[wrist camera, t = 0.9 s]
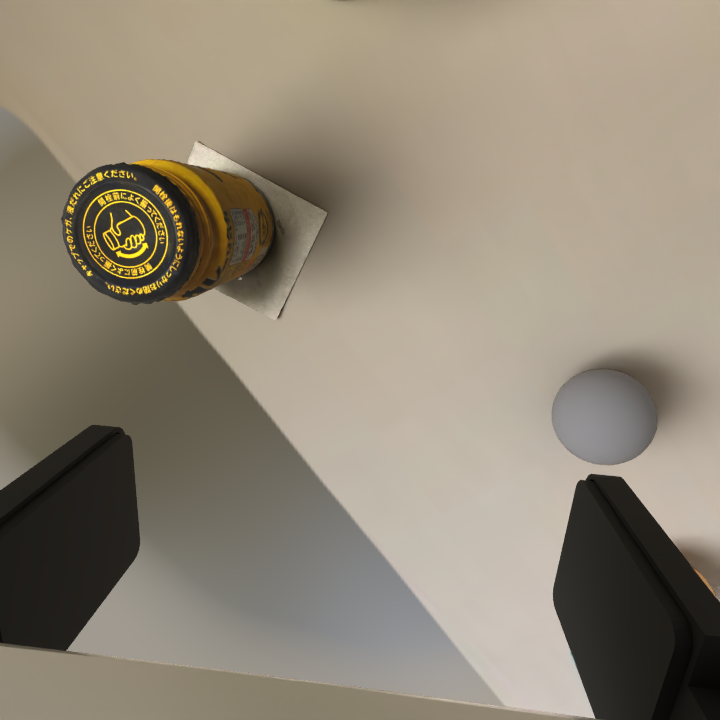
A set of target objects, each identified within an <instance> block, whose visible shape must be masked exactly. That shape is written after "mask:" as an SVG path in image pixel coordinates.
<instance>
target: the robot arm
mask: <svg viewBox="0 0 720 720" xmlns="http://www.w3.org/2000/svg"><path fill="white" fill-rule="evenodd" d="M139 546H140V535H139V522H138V510H137V497H136V485H135V473H134V460H133V448H132V440H131V438H130V436H129V435H125V433H124V431H123V429H121V428H120V427H110V426H100V425H92V426H90V427H88V428H87V429H85V430H84V431H82V432H81V433H80V434H78V435H77V436H75V437H74V438H73V439H71V440H70V441H68V442H67V443H66V444H65V445H63V446H62V447H60V448H59V449H57V450H56V451H55V452H53V453H52V454H50V455H49V456H48V457H46V458H45V459H43V460H42V461H41V462H39V463H38V464H37V465H35V466H34V467H33V468H31V469H29V470H28V471H27V472H25V473H24V474H23V475H21V476H20V477H18V478H17V479H16V480H14V481H13V482H11V483H10V484H9V485H7V486H6V487H5V488H3V489H2V490H0V720H720V602H719V601H718V599H717V598H716V597H715V596H714V594H713V593H712V592H711V591H710V589H709V588H708V587H707V585H706V584H705V583H704V582H703V580H702V579H701V578H700V576H699V575H698V574H697V573H696V571H695V570H694V569H693V568H692V566H691V565H690V564H689V562H688V561H687V560H686V559H685V557H684V556H683V555H682V553H681V552H680V551H679V550H678V548H677V547H676V546H675V545H674V543H673V542H672V541H671V539H670V538H669V537H668V536H667V534H666V533H665V532H664V530H663V529H662V528H661V527H660V525H659V524H658V523H657V521H656V520H655V519H654V518H653V516H652V515H651V514H650V513H649V511H648V510H647V509H646V507H645V506H644V505H643V504H642V502H641V501H640V500H639V498H638V497H637V496H636V495H635V493H634V492H633V491H632V490H631V488H630V487H629V486H628V484H627V483H626V482H625V481H624V479H622V478H621V477H617V476H607V475H597V474H590V475H588V477H587V479H586V481H585V480H580V481H579V482H578V483H577V486H576V489H575V494H574V498H573V503H572V507H571V512H570V516H569V521H568V525H567V530H566V534H565V538H564V543H563V547H562V552H561V556H560V561H559V565H558V570H557V574H556V579H555V583H554V588H553V601H554V606H555V610H556V612H557V615H558V618H559V620H560V623H561V626H562V629H563V631H564V634H565V637H566V639H567V642H568V645H569V648H570V650H571V653H572V656H573V658H574V661H575V664H576V667H577V669H578V672H579V675H580V678H581V680H582V683H583V686H584V688H585V691H586V694H587V697H588V699H589V702H590V705H591V707H592V710H593V713H594V716H595V718H596V719H593V718H585V717H578V716H570V715H563V714H556V713H548V712H541V711H533V710H526V709H518V708H511V707H503V706H496V705H488V704H481V703H473V702H466V701H458V700H451V699H443V698H435V697H428V696H421V695H413V694H406V693H398V692H390V691H383V690H375V689H368V688H360V687H352V686H344V685H336V684H328V683H321V682H313V681H305V680H298V679H290V678H282V677H274V676H266V675H258V674H250V673H242V672H234V671H226V670H218V669H210V668H201V667H194V666H187V665H178V664H170V663H161V662H153V661H145V660H137V659H128V658H120V657H112V656H103V655H95V654H87V653H79V652H70V651H66V650H67V649H68V647H69V646H70V645H71V644H72V642H73V641H74V639H75V638H76V637H77V636H78V634H79V633H80V632H81V630H82V629H83V628H84V626H85V625H86V624H87V622H88V620H90V618H91V617H92V616H93V614H94V613H95V612H96V610H97V609H98V608H99V606H100V605H101V604H102V602H103V601H104V600H105V598H106V597H107V596H108V594H109V593H110V592H111V590H112V589H113V588H114V586H115V585H116V583H117V582H118V581H119V580H120V578H121V577H122V576H123V574H124V573H125V572H126V570H127V569H128V568H129V566H130V565H131V564H132V562H133V561H134V560H135V558H136V556H137V554H138V551H139Z"/></svg>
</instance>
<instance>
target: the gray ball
mask: <svg viewBox="0 0 720 720" xmlns="http://www.w3.org/2000/svg"><path fill="white" fill-rule="evenodd" d="M657 421H658V417H657V410H656V406H655V403H654V401H653V399H652V397H651V395H650V394H649V392H648V391H647V390H646V388H645V387H644V386H643V385H642V384H641V383H639V382H638V381H637V380H636V379H634V378H632V377H631V376H629V375H627V374H625V373H622V372H619V371H615V370H609V369H595V370H589V371H586V372H583V373H580V374H578V375H576V376H574V377H573V378H571V379H570V380H569V381H567V382H566V383H565V384H564V385H563V386H562V388H561V389H560V390H559V392H558V393H557V395H556V397H555V399H554V403H553V407H552V423H553V427H554V430H555V433H556V435H557V437H558V439H559V440H560V442H561V443H562V444H563V445H564V446H565V448H566V449H567V450H568V451H570V452H571V453H572V454H574V455H575V456H577V457H578V458H580V459H582V460H584V461H587V462H590V463H593V464H599V465H615V464H620V463H624V462H627V461H629V460H632V459H634V458H635V457H637V456H638V455H640V454H641V453H642V452H643V451H644V450H645V449H646V448H647V447H648V446H649V444H650V443H651V441H652V440H653V438H654V435H655V433H656V429H657Z"/></svg>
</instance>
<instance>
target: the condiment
mask: <svg viewBox="0 0 720 720" xmlns="http://www.w3.org/2000/svg"><path fill="white" fill-rule="evenodd" d="M326 215H327V212H326V211H324V210H322V209H320V208H318V207H316V206H314V205H313V204H311V203H309V202H307V201H305V200H303V199H302V198H300V197H298V196H296V195H294V194H292V193H290V192H288V191H287V190H285V189H283V188H281V187H279V186H278V185H276V184H274V183H272V182H270V181H269V180H267V179H265V178H263V177H261V176H259V175H258V174H256V173H254V172H252V171H250V170H248V169H247V168H245V167H243V166H241V165H239V164H237V163H235V162H234V161H232V160H230V159H228V158H226V157H224V156H223V155H221V154H219V153H217V152H215V151H213V150H212V149H210V148H208V147H206V146H204V145H202V144H200V143H198V142H195V145H194V147H193V150H192V153H191V155H190V158H189V160H188V164H183V163H180V162H175V161H172V160H164V159H163V160H160V159H157V160H155V159H146V160H141V161H138V162H135V163H131V164H126V163H124V162H122V163H118V164H115V165H112V164H110V165H105V166H101V167H98V168H96V169H94V170H92V171H91V172H89V173H88V174H87V175H85V176H84V177H83V178H82V179H81V180H79V181H78V182H77V184H76V185H75V186H74V188H73V189H72V191H71V193H70V195H69V198H68V201H67V203H66V205H65V207H64V210H63V216H62V218H61V220H62V224H63V239H64V242H65V245H66V247H67V251H68V253H69V255H70V257H71V260H72V264H73V265H74V267H75V268H76V269H77V270H78V271H79V272H80V274H81V275H82V276H83V277H84V278H85V279H86V280H87V281H88V283H89V284H90V285H91V286H92V287H94V288H95V289H96V290H97V291H99V292H100V293H102V294H105V295H108V296H110V297H112V298H114V299H116V300H119V301H123V302H124V301H125V302H130V303H132V304H134V305H137V304H139V303H144V304H151V303H153V302H159V301H181V300H187V299H189V298H191V297H195V296H198V295H200V294H202V293H204V292H206V291H208V290H211V289H213V288H215V289H216V290H219V291H220V292H222V293H224V294H225V295H227V296H230V297H232V298H234V299H236V300H237V301H239V302H241V303H243V304H245V305H247V306H249V307H251V308H253V309H254V310H256V311H258V312H260V313H261V314H263V315H266V316H268V317H269V318H271V319H273V320H275V321H276V319H277V317H278V315H279V313H280V311H281V309H282V307H283V305H284V303H285V301H286V299H287V297H288V295H289V292H290V290H291V288H292V286H293V284H294V282H295V280H296V278H297V276H298V274H299V272H300V270H301V268H302V266H303V264H304V262H305V259H306V258H307V255H308V253H309V251H310V249H311V247H312V245H313V243H314V241H315V239H316V236H317V234H318V232H319V230H320V228H321V226H322V224H323V222H324V220H325V217H326ZM278 220H279V221H280V224H281V226H280V227H282V228H283V229H284V231H285V232H284V234H282V233H281V231H280V227H279V226H278V225H277V221H278ZM239 277H241V278H242V280H238V279H239Z"/></svg>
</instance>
